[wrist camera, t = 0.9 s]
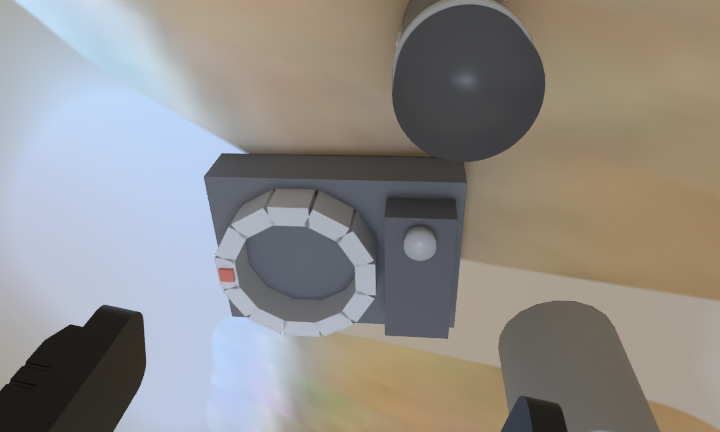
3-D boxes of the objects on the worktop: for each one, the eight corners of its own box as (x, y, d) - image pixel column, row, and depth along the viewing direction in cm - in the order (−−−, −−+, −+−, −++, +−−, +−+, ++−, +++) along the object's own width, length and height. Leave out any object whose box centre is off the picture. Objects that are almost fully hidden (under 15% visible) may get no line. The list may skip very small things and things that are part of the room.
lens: (513, -31, 24) (561, 11, 16) (500, 80, 27) (535, 166, 19) (400, -29, 25) (387, 12, 16) (398, 80, 28) (387, 162, 19)
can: (610, 369, 37) (681, 552, 27) (500, 376, 38) (527, 551, 28) (614, 286, 33) (699, 460, 23) (493, 296, 34) (521, 465, 24)
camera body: (463, 157, 30) (470, 210, 25) (451, 295, 35) (456, 362, 30) (221, 153, 31) (183, 202, 26) (245, 286, 36) (217, 348, 31)
